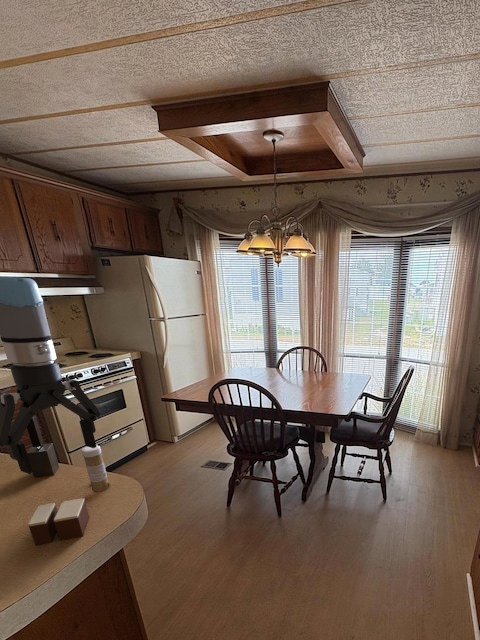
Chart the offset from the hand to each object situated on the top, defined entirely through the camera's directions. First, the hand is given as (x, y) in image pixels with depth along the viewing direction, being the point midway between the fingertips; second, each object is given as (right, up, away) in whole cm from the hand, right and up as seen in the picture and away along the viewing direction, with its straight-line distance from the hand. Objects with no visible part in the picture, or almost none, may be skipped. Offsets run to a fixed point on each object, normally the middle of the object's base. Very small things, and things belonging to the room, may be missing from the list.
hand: (61, 458), depth 76 cm
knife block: (-29, -8, +32) cm, 44 cm away
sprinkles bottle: (-9, -11, +27) cm, 30 cm away
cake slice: (-9, -19, +8) cm, 22 cm away
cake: (-4, -18, +10) cm, 21 cm away
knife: (-29, -8, +32) cm, 44 cm away
